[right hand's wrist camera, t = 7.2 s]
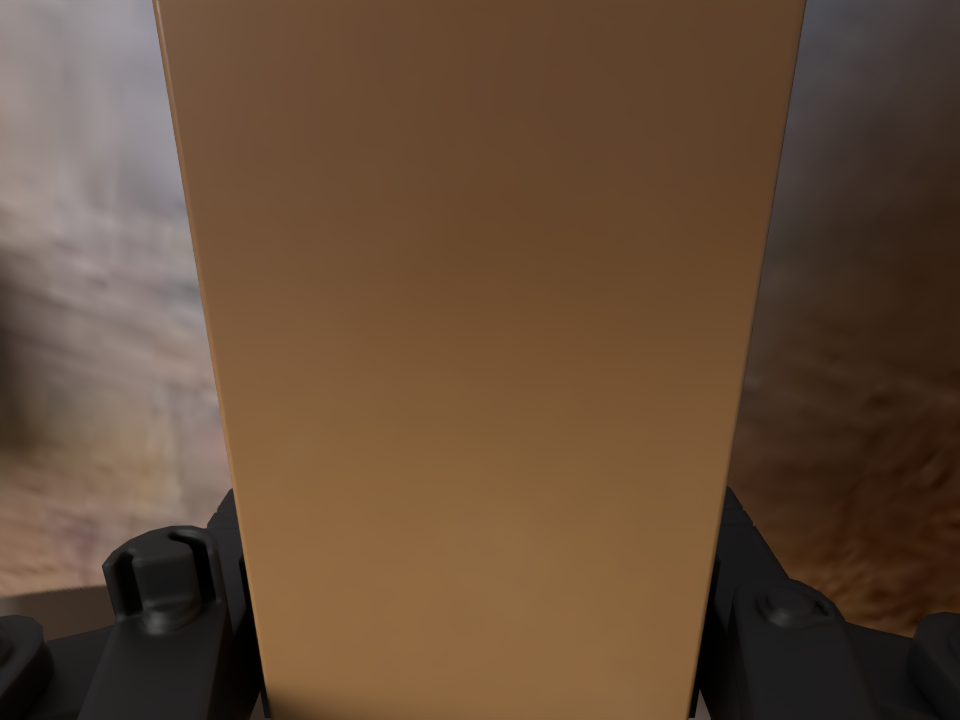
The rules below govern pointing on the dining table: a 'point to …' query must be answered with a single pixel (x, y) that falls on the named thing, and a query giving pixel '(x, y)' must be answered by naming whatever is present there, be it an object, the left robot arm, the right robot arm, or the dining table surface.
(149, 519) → the dining table surface
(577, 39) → the bar
